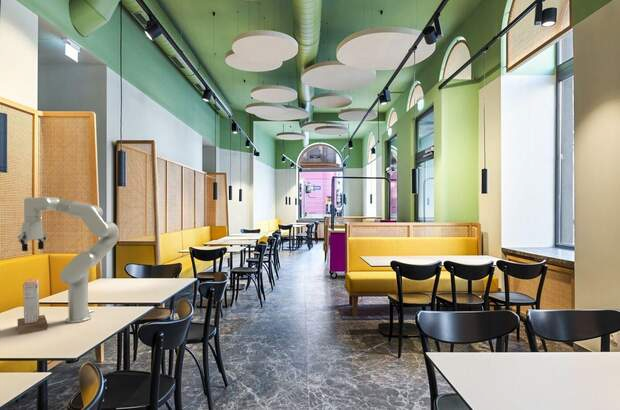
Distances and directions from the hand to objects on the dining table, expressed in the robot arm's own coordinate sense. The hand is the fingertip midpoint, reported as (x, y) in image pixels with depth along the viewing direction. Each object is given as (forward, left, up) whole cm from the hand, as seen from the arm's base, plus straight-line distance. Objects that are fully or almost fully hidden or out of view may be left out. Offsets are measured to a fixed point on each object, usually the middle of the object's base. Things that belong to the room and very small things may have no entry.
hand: (33, 250), depth 217 cm
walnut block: (+9, +9, -40) cm, 42 cm away
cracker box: (+9, +9, -36) cm, 39 cm away
